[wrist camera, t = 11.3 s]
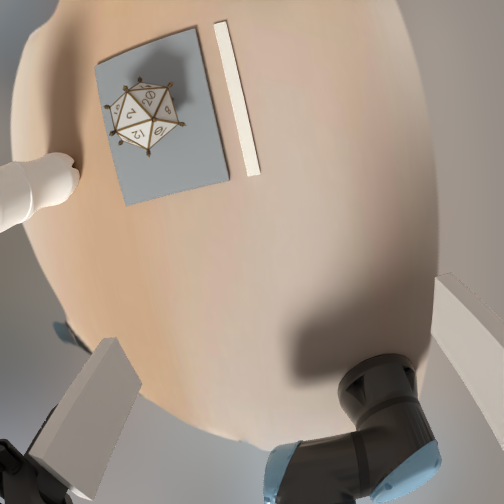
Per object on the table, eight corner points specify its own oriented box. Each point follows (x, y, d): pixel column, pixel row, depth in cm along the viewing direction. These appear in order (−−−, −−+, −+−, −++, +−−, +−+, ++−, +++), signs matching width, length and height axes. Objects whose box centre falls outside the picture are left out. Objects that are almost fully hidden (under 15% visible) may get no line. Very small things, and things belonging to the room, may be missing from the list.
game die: (157, 105, 35) (125, 54, 25) (208, 120, 33) (182, 59, 23) (117, 159, 33) (72, 113, 24) (166, 180, 31) (122, 128, 22)
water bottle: (43, 185, 36) (-87, 247, 13) (57, 142, 34) (-88, 180, 11) (75, 207, 37) (-56, 288, 14) (91, 163, 35) (-59, 218, 12)
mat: (229, 179, 36) (229, 180, 35) (128, 204, 37) (126, 206, 36) (196, 30, 28) (194, 28, 27) (97, 67, 30) (94, 66, 29)
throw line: (260, 173, 35) (260, 174, 35) (248, 175, 35) (247, 176, 35) (226, 22, 28) (225, 21, 27) (214, 25, 28) (213, 24, 27)
